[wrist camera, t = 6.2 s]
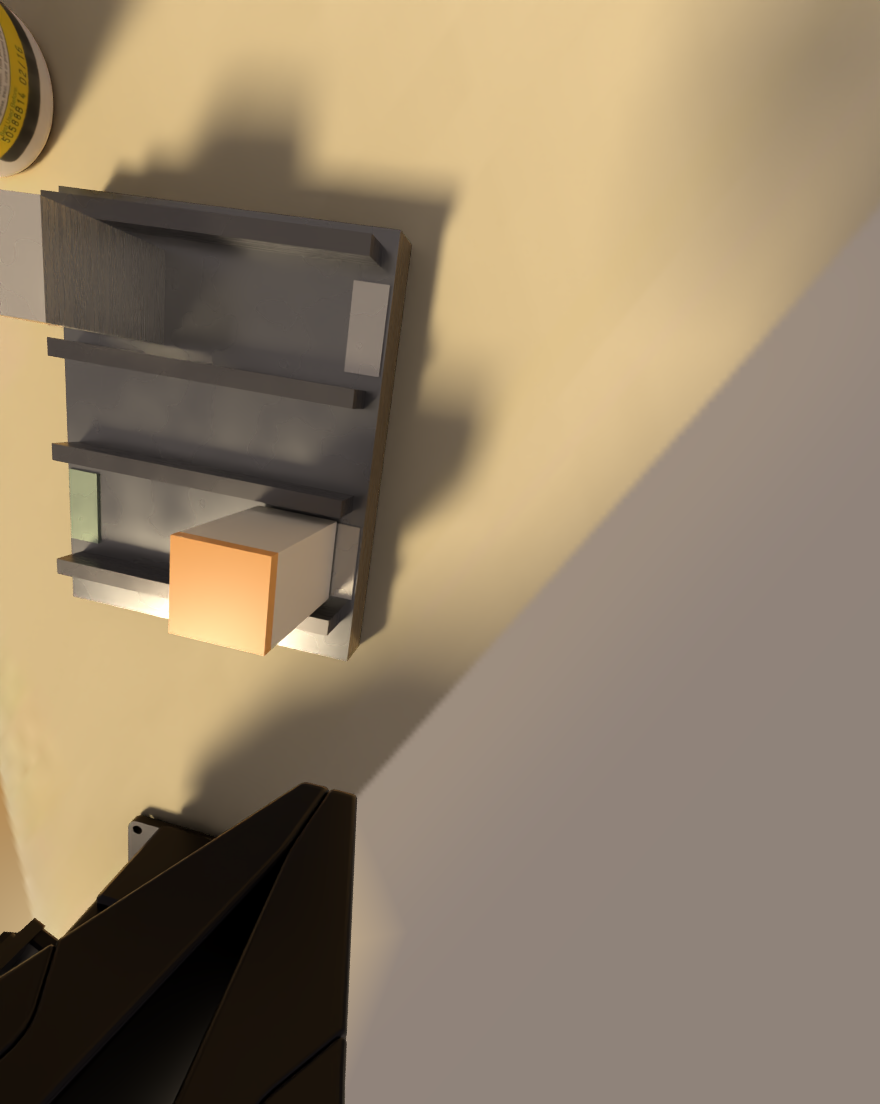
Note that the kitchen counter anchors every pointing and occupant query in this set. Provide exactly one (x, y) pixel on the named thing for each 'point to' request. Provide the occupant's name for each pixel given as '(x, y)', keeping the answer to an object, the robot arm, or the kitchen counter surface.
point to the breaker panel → (210, 379)
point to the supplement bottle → (22, 96)
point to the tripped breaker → (249, 577)
